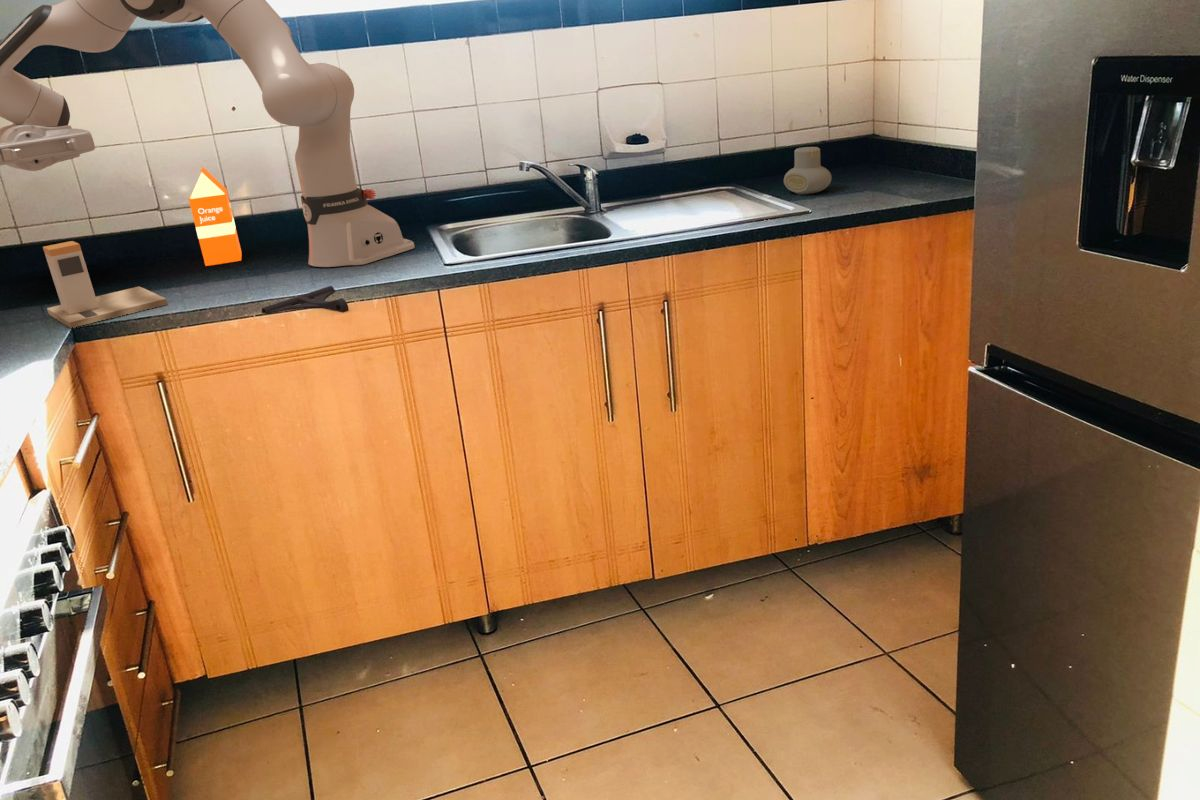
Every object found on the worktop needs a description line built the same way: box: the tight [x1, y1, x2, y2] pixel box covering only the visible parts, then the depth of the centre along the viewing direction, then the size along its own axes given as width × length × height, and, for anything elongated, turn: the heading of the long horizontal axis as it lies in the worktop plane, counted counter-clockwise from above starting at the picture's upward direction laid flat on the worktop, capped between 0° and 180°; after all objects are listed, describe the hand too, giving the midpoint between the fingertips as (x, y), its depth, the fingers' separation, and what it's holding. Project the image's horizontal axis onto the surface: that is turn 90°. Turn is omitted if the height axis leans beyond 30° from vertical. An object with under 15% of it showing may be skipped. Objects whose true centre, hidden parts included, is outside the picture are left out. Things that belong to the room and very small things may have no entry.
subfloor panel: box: [46, 286, 168, 329], centre depth 179 cm, size 17×16×1 cm
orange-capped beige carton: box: [42, 240, 99, 315], centre depth 173 cm, size 5×5×12 cm
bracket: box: [261, 285, 349, 315], centre depth 167 cm, size 14×15×3 cm
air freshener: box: [783, 146, 833, 196], centre depth 221 cm, size 11×8×10 cm
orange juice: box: [188, 166, 243, 267], centre depth 208 cm, size 8×9×20 cm
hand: (45, 149), depth 179 cm, fingers open, 8 cm apart
